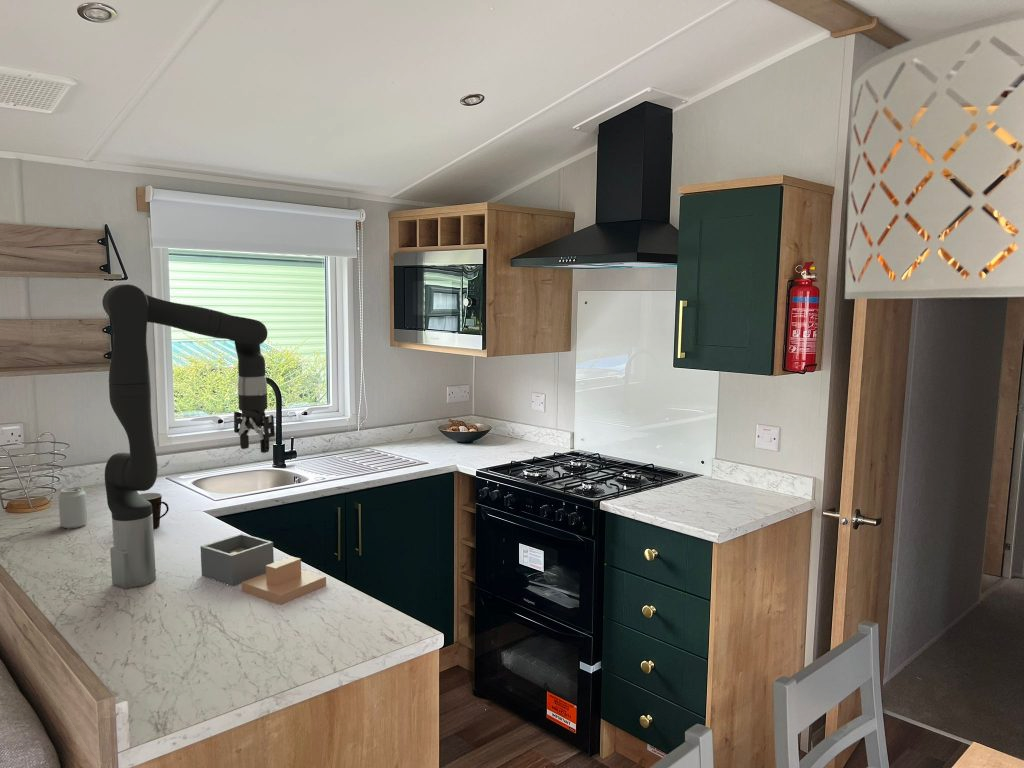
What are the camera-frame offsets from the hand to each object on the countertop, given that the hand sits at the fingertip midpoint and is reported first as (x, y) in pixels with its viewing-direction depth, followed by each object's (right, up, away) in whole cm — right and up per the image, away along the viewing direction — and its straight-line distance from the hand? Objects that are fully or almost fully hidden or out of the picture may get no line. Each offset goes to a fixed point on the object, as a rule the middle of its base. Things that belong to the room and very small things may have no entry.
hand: (254, 450), depth 211 cm
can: (-67, -27, +30) cm, 78 cm away
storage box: (-1, -32, -10) cm, 33 cm away
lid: (+14, -33, -20) cm, 41 cm away
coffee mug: (-42, -27, +27) cm, 57 cm away
